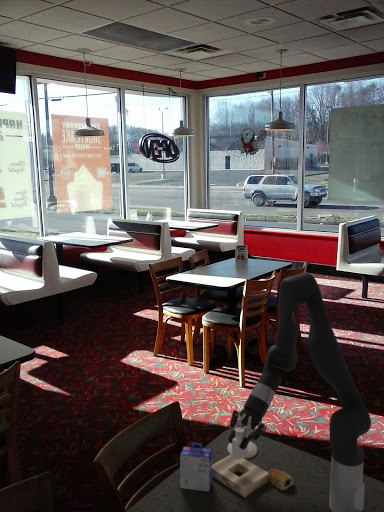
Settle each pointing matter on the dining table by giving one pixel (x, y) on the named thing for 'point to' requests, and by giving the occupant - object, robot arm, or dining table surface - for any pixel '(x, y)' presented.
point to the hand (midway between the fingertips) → (235, 445)
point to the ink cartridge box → (196, 468)
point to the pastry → (280, 479)
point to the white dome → (251, 450)
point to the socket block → (246, 482)
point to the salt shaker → (236, 443)
